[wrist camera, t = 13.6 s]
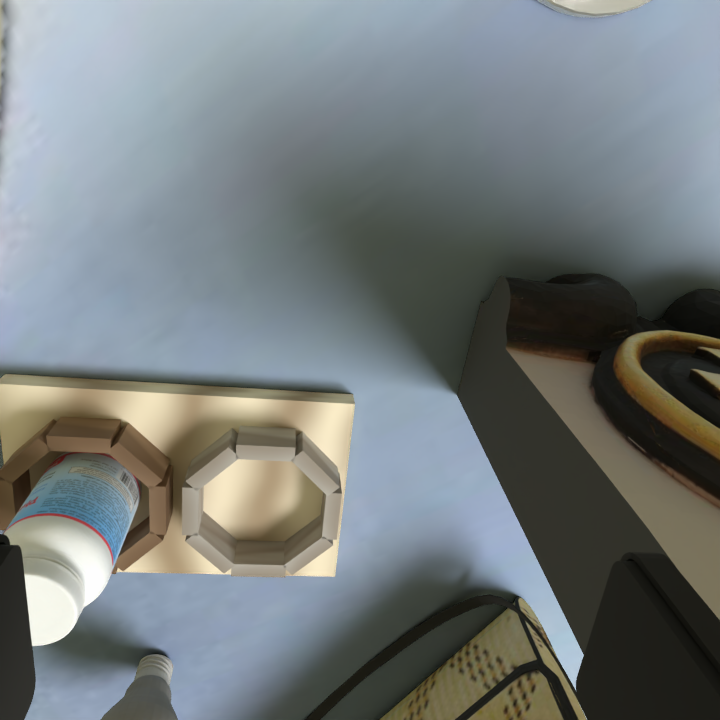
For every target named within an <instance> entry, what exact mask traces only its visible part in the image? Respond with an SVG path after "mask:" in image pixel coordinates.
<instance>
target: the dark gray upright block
mask: <svg viewBox="0 0 720 720" xmlns="http://www.w3.org/2000/svg"><path fill="white" fill-rule="evenodd" d="M457 396H458V398H459V400H460V402H461V404H462V406H463V408H464V410H465V412H466V414H467V416H468V418H469V421H470V423H471V425H472V427H473V429H474V431H475V433H476V435H477V437H478V439H479V441H480V443H481V445H482V447H483V449H484V451H485V453H486V455H487V457H488V459H489V461H490V464H491V466H492V468H493V470H494V472H495V474H496V476H497V478H498V480H499V482H500V484H501V486H502V488H503V490H504V492H505V494H506V496H507V498H508V500H509V502H510V504H511V507H512V509H513V511H514V513H515V515H516V517H517V519H518V521H519V523H520V525H521V527H522V529H523V531H524V533H525V535H526V537H527V539H528V541H529V543H530V545H531V548H532V550H533V552H534V554H535V556H536V558H537V560H538V562H539V564H540V566H541V568H542V570H543V572H544V574H545V576H546V578H547V580H548V582H549V584H550V586H551V588H552V591H553V593H554V595H555V597H556V599H557V601H558V603H559V605H560V607H561V609H562V611H563V613H564V615H565V617H566V619H567V621H568V623H569V625H570V627H571V629H572V631H573V634H574V636H575V638H576V640H577V642H578V644H579V646H580V648H581V650H582V652H583V654H585V650H586V647H587V644H588V641H589V638H590V634H591V631H592V628H593V625H594V622H595V619H596V615H597V612H598V609H599V606H600V603H601V599H602V596H603V593H604V590H605V587H606V584H607V580H608V577H609V574H610V571H611V568H612V566H613V564H614V563H615V562H616V561H620V560H621V558H622V556H623V555H624V554H625V553H628V552H646V553H661V554H664V555H665V556H667V557H668V558H669V559H670V560H671V562H672V563H673V564H674V565H675V567H676V568H677V569H678V570H679V571H680V573H681V574H682V575H683V576H684V577H685V579H686V580H687V581H688V582H689V583H690V585H691V586H692V587H693V588H694V590H695V591H696V592H697V593H698V594H699V596H700V597H701V598H702V599H703V600H704V602H705V603H706V604H707V605H708V606H709V608H710V609H711V610H712V611H713V613H714V614H715V615H716V616H717V617H718V619H719V620H720V291H716V290H713V289H699V290H695V291H692V292H690V293H688V294H686V295H684V296H682V297H681V298H679V299H678V300H677V301H675V302H674V303H673V304H672V305H671V306H670V307H669V309H668V310H667V312H666V313H665V314H664V316H663V318H662V319H660V320H656V321H652V322H651V321H648V320H647V319H645V318H642V317H637V308H636V303H635V301H634V299H633V297H632V296H631V295H630V293H629V292H628V291H627V290H626V289H625V288H624V287H623V286H622V285H621V284H620V283H618V282H616V281H614V280H613V279H611V278H609V277H606V276H603V275H599V274H567V275H561V276H557V277H555V278H553V279H550V280H549V281H547V282H546V283H543V282H536V281H530V280H524V279H517V278H505V277H504V276H500V277H499V278H498V279H497V281H496V283H495V286H494V288H493V291H492V293H491V295H490V297H489V299H488V300H486V301H485V302H482V301H481V304H480V308H479V312H478V315H477V319H476V323H475V327H474V331H473V335H472V339H471V343H470V347H469V350H468V354H467V358H466V362H465V366H464V370H463V374H462V378H461V382H460V385H459V389H458V393H457Z"/></svg>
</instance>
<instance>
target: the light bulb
mask: <svg viewBox="0 0 720 720" xmlns="http://www.w3.org/2000/svg"><path fill="white" fill-rule="evenodd" d="M172 672H173V664H172V662H171V660H170V659H168V658H167V657H165V656H163V655H158V654H152V655H148V656H145V657H144V658H142V659H141V661H140V662H139V665H138V668H137V672H136V676H135V679H134V682H133V683H132V684H131V685H130V686H129V688H128V689H127V691H126V693H125V696H124V697H123V698H122V699H121V700H120V701H119V702H118V703H117V704H115V705H114V706H113V707H112V708H111V709H110V710H109V711H108V712H107V713H106V714H105V715H104V716H103V717H102V719H101V720H178V719H177V716H176V714H175V711H174V710H173V707H172V705H171V690H170V687H169V685H170V681H171V676H172Z"/></svg>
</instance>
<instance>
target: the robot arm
mask: <svg viewBox="0 0 720 720" xmlns="http://www.w3.org/2000/svg"><path fill="white" fill-rule="evenodd" d="M537 1H538V2H540V3H542V4H544V5H546V6H547V7H549V8H551V9H553V10H555V11H557V12H560V13H564V14H568V15H571V16H575V17H587V18H601V17H606V16H611V15H616V14H621V13H624V12H627V11H629V10H632V9H636V8H638V7H640V6H642V5H644V4H646V3H648V2H650V1H652V0H537ZM35 682H36V681H35V668H34V659H33V650H32V641H31V631H30V622H29V613H28V604H27V594H26V585H25V576H24V567H23V557H22V551H21V548H20V546H19V545H10V541H9V538H8V537H7V535H4V534H0V720H24V719H25V716H26V714H27V712H28V710H29V707H30V705H31V702H32V699H33V695H34V690H35ZM576 691H577V696H578V700H579V703H580V705H581V707H582V710H583V712H584V714H585V716H586V718H587V720H720V620H719V619H718V617H717V616H716V615H715V614H714V613H713V611H712V610H711V609H710V608H709V606H708V605H707V604H706V603H705V602H704V600H703V599H702V598H701V597H700V596H699V594H698V593H697V592H696V591H695V590H694V588H693V587H692V586H691V585H690V583H689V582H688V581H687V580H686V579H685V577H684V576H683V575H682V574H681V573H680V571H679V570H678V569H677V568H676V567H675V565H674V564H673V563H672V562H671V560H670V559H669V558H668V557H667V556H665V555H664V554H661V553H646V552H628V553H625V554H624V555H623V556H622V558H621V560H620V561H616V562H615V563H614V564H613V566H612V568H611V571H610V574H609V577H608V580H607V584H606V587H605V590H604V593H603V596H602V599H601V603H600V606H599V609H598V612H597V615H596V619H595V622H594V625H593V628H592V631H591V634H590V638H589V641H588V644H587V647H586V650H585V654H584V657H583V660H582V663H581V666H580V669H579V673H578V676H577V680H576Z"/></svg>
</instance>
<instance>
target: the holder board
mask: <svg viewBox="0 0 720 720" xmlns="http://www.w3.org/2000/svg"><path fill="white" fill-rule="evenodd" d="M354 407H355V402H354V397H353V394H338V393H321V392H304V391H287V390H270V389H253V388H236V387H219V386H202V385H185V384H168V383H151V382H134V381H117V380H100V379H83V378H66V377H49V376H32V375H15V374H5V375H4V376H3V377H1V378H0V435H1V443H2V452H3V461H4V465H3V467H2V468H1V469H0V530H6V529H7V527H8V526H9V524H10V523H11V521H12V520H13V518H14V517H15V515H16V514H17V512H18V511H19V509H20V508H21V506H22V505H23V503H24V502H25V500H26V499H27V498H28V496H29V495H30V493H31V492H32V490H33V489H34V487H35V486H36V484H37V483H38V481H39V480H40V478H41V477H42V475H43V474H44V472H45V471H46V469H47V468H48V467H49V465H50V464H51V463H52V462H53V461H54V460H55V459H56V458H57V457H58V456H60V455H61V454H63V453H65V452H88V453H108V454H109V455H111V456H112V457H113V458H114V459H115V460H117V461H118V462H119V463H120V464H121V465H122V466H124V467H125V468H126V469H127V470H128V471H129V472H131V473H132V474H133V475H134V476H135V477H136V478H138V479H139V480H140V481H141V486H142V493H141V499H140V502H139V505H138V507H137V510H136V512H135V515H134V518H133V520H132V523H131V525H130V528H129V530H128V533H127V535H126V538H125V540H124V543H123V545H122V548H121V550H120V553H119V555H118V558H117V561H116V563H115V566H114V568H113V571H112V573H111V574H116V572H145V573H191V574H231V576H246V577H285V576H331V577H335V571H336V562H337V554H338V545H339V536H340V528H341V519H342V511H343V502H344V493H345V485H346V476H347V468H348V459H349V450H350V442H351V433H352V424H353V416H354Z"/></svg>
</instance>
